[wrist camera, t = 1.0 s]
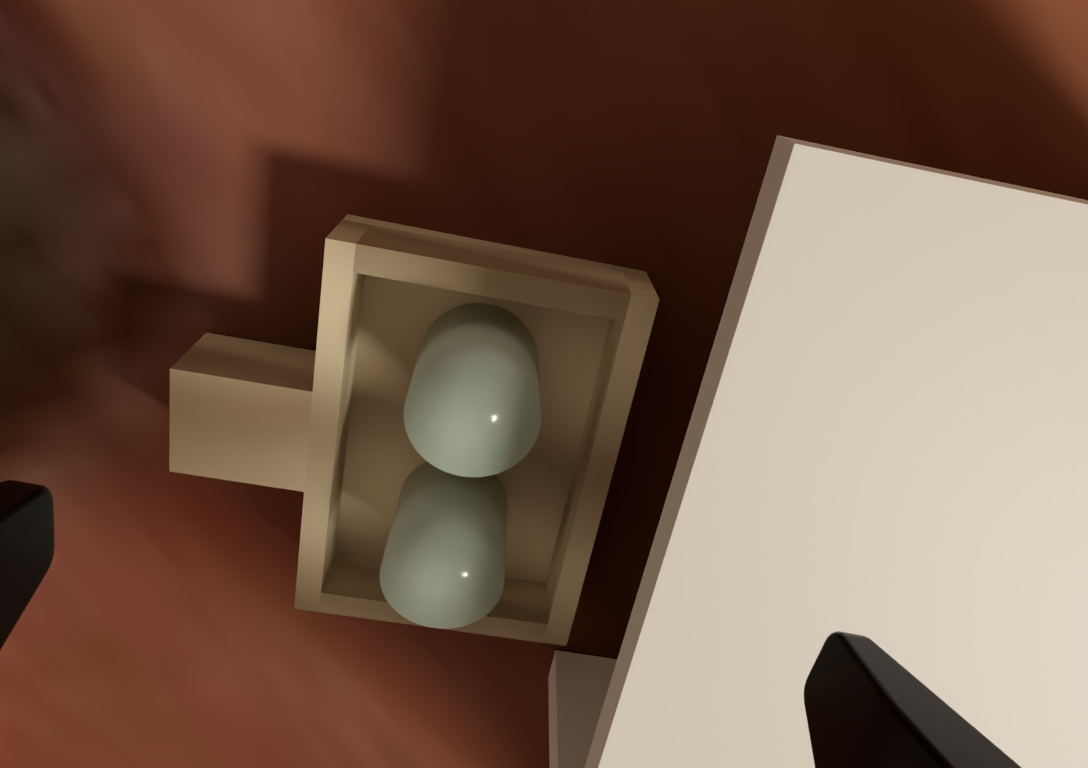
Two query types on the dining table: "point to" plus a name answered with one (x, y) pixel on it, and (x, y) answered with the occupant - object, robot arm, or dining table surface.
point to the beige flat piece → (378, 412)
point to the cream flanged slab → (868, 478)
